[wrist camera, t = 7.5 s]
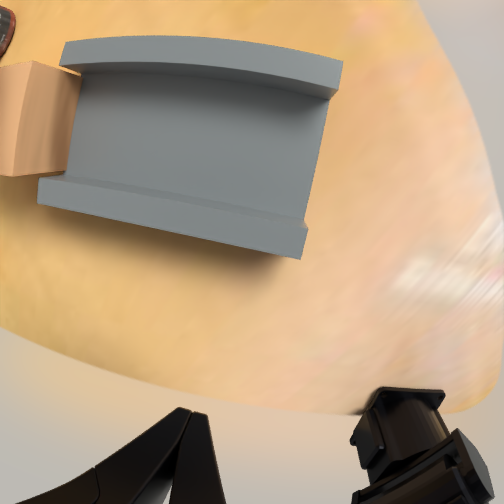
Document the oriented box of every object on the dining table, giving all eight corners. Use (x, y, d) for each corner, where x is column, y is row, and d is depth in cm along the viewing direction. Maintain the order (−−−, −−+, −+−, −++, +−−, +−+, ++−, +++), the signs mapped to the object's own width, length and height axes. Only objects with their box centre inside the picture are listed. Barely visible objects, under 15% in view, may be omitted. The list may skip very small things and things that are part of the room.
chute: (331, 80, 15) (343, 61, 12) (296, 241, 18) (300, 259, 15) (95, 56, 16) (65, 42, 12) (69, 195, 18) (36, 203, 15)
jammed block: (83, 77, 15) (33, 60, 10) (66, 170, 17) (12, 176, 12) (22, 82, 15) (-26, 74, 10) (9, 163, 17) (-41, 169, 12)
